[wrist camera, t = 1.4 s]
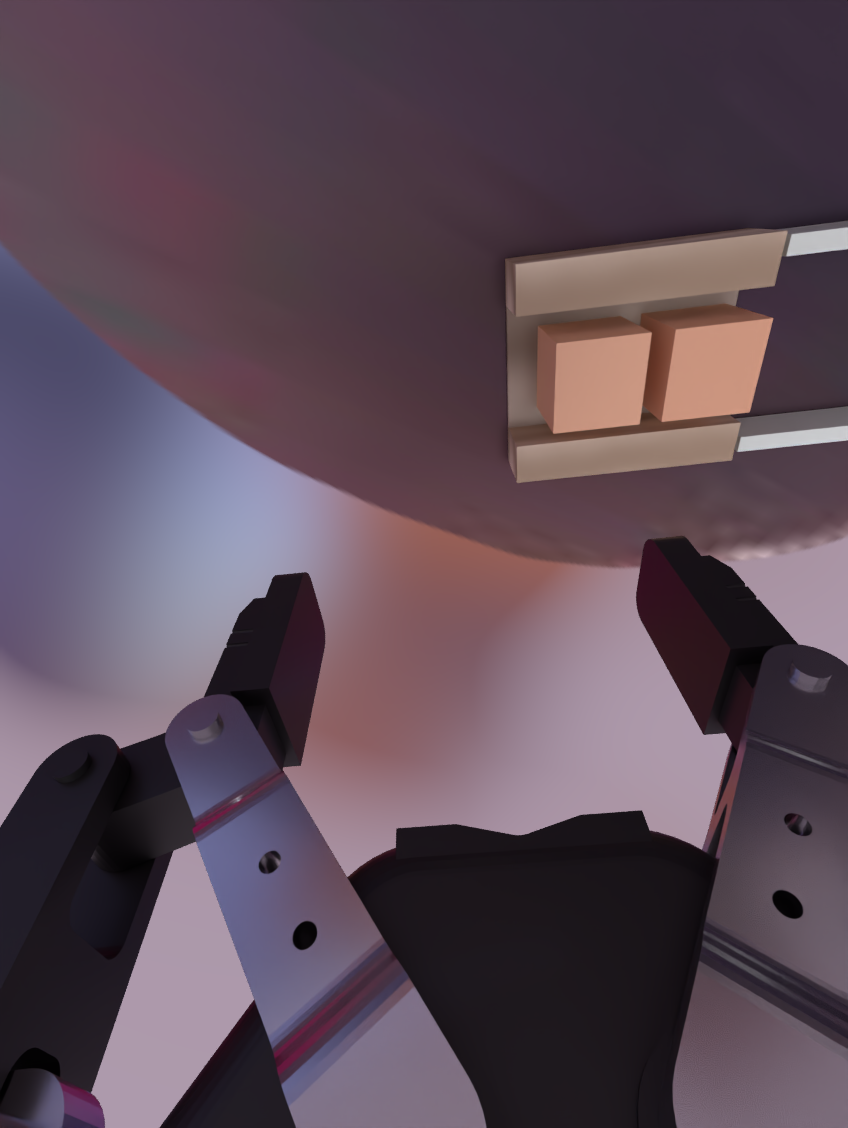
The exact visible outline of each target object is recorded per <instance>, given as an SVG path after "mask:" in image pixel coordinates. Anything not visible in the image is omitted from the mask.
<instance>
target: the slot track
mask: <svg viewBox="0 0 848 1128" xmlns="http://www.w3.org/2000/svg"><path fill="white" fill-rule="evenodd" d="M787 232H788V231H787V230H772V229H756V228H745V229H737V230H729V231H721V232H713V233H705V234H697V235H689V236H681V237H673V238H665V239H657V240H649V241H641V242H633V243H625V244H617V245H609V246H601V247H593V248H585V249H577V250H569V251H561V252H553V253H546V254H538V255H530V256H522V257H514V258H506V259H505V282H506V343H507V405H508V460H509V463H510V465H511V468H512V471H513V473H514V476H515V479H516V481H517V483H521V482H531V481H540V480H550V479H559V478H569V477H578V476H588V475H597V474H607V473H616V472H626V471H635V470H645V469H654V468H664V467H673V466H683V465H692V464H702V463H711V462H721V461H730V460H732V457H733V453H734V448H735V444H736V440H737V436H738V432H739V428H740V424H741V422H739V421H738V420H736V419H735V418H733V417H732V416H730V415H721V416H711V417H702V418H693V419H684V420H675V421H666V422H661V421H660V420H659V419H658V418H656V417H655V416H654V415H653V414H652V413H651V412H649V411H648V410H647V409H646V408H645V407H644V406H643V405H642V411H641V419H640V424H638V425H629V426H620V427H611V428H602V429H593V430H583V431H574V432H565V433H556V434H553V432H552V431H551V429H550V428H549V426H548V424H547V423H546V421H545V419H544V418H543V416H542V415H541V413H540V411H539V410H538V408H537V350H538V326H540V325H549V324H557V323H566V322H574V321H582V320H591V319H599V318H608V317H616V316H622V317H624V318H625V319H627V320H629V321H631V322H633V323H635V324H637V325H639V326H640V322H641V313H650V312H658V311H666V310H675V309H683V308H692V307H700V306H708V305H717V304H725V303H726V304H729V305H732V306H736V302H737V297H738V292H739V290H744V289H753V288H761V287H769V286H774V285H775V281H776V277H777V273H778V269H779V265H780V261H781V257H782V253H783V249H784V245H785V241H786V236H787Z"/></svg>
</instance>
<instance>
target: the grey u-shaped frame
mask: <svg viewBox="0 0 848 1128" xmlns="http://www.w3.org/2000/svg"><path fill="white" fill-rule="evenodd" d="M777 230H787V231H788V232H787V236H786V241H785V245H784V249H783V253H782V256H794V255H802V254H811V253H819V252H827V251H835V250H843V249H848V221H841V222H833V223H825V224H817V225H809V226H801V227H793V228H785V229H777ZM736 420H738V421H739V422H741V424H740V428H739V432H738V436H737V440H736V444H735V448H734V450H736V451H737V452H741V451H750V450H760V449H769V448H779V447H788V446H798V445H807V444H816V443H826V442H835V441H845V440H848V406H846V407H837V408H828V409H819V410H810V411H800V412H791V413H782V414H773V415H764V416H754V417H745V418H736Z"/></svg>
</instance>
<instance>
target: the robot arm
mask: <svg viewBox="0 0 848 1128" xmlns="http://www.w3.org/2000/svg"><path fill="white" fill-rule="evenodd" d="M636 603H637V609H638V613H639V616H640V619H641V621H642V623H643V625H644V626H645V628H646V630H647V632H648V634H649V636H650V637H651V639H652V641H653V643H654V645H655V647H656V648H657V650H658V652H659V654H660V656H661V657H662V659H663V661H664V663H665V665H666V667H667V669H668V670H669V672H670V674H671V676H672V678H673V680H674V681H675V683H676V685H677V687H678V689H679V691H680V692H681V694H682V696H683V698H684V700H685V702H686V703H687V705H688V707H689V709H690V711H691V712H692V714H693V716H694V718H695V720H696V722H697V723H698V725H699V727H700V729H701V731H702V733H703V734H704V735H706V734H719V733H726V734H727V736H728V737H729V739H730V741H731V743H732V744H731V746H730V749H729V752H728V756H727V759H726V763H725V767H724V771H723V775H722V779H721V783H720V787H719V791H718V794H717V798H716V802H715V806H714V810H713V813H712V818H711V821H710V825H709V829H708V832H707V835H706V839H705V842H704V845H703V848H702V850H701V849H699V848H697V847H695V846H693V845H691V844H690V843H687V842H685V841H682V840H680V839H677V838H675V837H672V836H669V835H665V834H662V833H659V832H654V831H649V828H648V825H647V823H646V820H645V817H644V815H643V812H642V811H628V812H615V813H602V814H587V815H579V816H576V817H574V818H571V819H568V820H565V821H563V822H560V823H557V824H554V825H551V826H548V827H545V828H543V829H540V830H537V831H534V832H531V833H529V834H525V835H511V834H505V833H500V832H494V831H489V830H484V829H479V828H473V827H468V826H462V825H457V824H452V825H439V826H425V827H412V828H398V829H397V830H396V831H397V832H396V848H394V849H391V850H389V851H386V852H384V853H382V854H381V855H378V856H376V857H374V858H372V859H371V860H369V861H368V862H366V863H365V864H363V865H362V866H360V867H359V868H358V869H357V870H356V871H354V872H353V873H352V874H351V875H350V876H348V877H347V876H346V875H345V873H344V871H343V870H342V868H341V866H340V865H339V863H338V861H337V860H336V858H335V856H334V855H333V853H332V851H331V849H330V848H329V846H328V845H327V843H326V841H325V839H324V838H323V836H322V834H321V833H320V831H319V829H318V828H317V826H316V824H315V823H314V821H313V819H312V817H311V816H310V814H309V812H308V811H307V809H306V807H305V806H304V804H303V803H302V801H301V799H300V797H299V796H298V794H297V792H296V791H295V789H294V787H293V786H292V784H291V782H290V780H289V779H288V777H287V776H286V774H285V773H284V771H283V767H289V766H301V762H302V757H303V752H304V747H305V742H306V737H307V732H308V727H309V722H310V718H311V712H312V707H313V703H314V697H315V693H316V688H317V683H318V678H319V673H320V668H321V663H322V658H323V653H324V648H325V628H324V623H323V619H322V615H321V612H320V609H319V605H318V602H317V599H316V595H315V591H314V588H313V584H312V581H311V578H310V576H309V574H308V573H306V572H305V573H294V574H284V575H275V576H274V577H273V579H272V582H271V585H270V587H269V590H268V592H267V595H266V597H265V598H256V599H253V601H252V602H251V603H250V604H249V605H248V606H247V607H246V608H245V609H244V610H243V611H242V612H241V613H240V614H239V616H238V618H237V621H236V623H235V625H234V628H233V630H232V632H233V633H232V634H231V635H230V637H229V639H228V642H227V648H225V649H224V651H223V653H222V656H221V658H220V660H219V663H218V665H217V667H216V670H215V672H214V674H213V677H212V679H211V682H210V684H209V686H208V689H207V691H206V693H205V696H204V698H201V699H199V700H196V701H195V702H193V703H191V704H189V705H188V706H186V707H185V708H184V709H182V710H181V711H180V712H179V713H178V714H177V715H176V716H175V717H174V718H173V720H172V721H171V723H170V724H169V726H168V728H167V731H166V733H163V734H161V735H158V736H156V737H153V738H150V739H147V740H144V741H141V742H138V743H135V744H133V745H130V746H127V747H124V748H121V749H120V748H119V747H118V745H117V744H116V743H115V741H114V740H113V739H112V738H111V737H109V736H106V735H100V734H97V735H88V736H84V737H81V738H79V739H76V740H73V741H71V742H69V743H67V744H66V745H64V746H62V747H61V748H59V749H58V750H56V751H55V752H54V753H52V754H51V755H50V756H49V757H48V758H47V759H46V760H45V761H44V762H43V763H42V764H41V765H40V766H39V768H38V769H37V770H36V772H35V773H34V775H33V776H32V778H31V779H30V781H29V783H28V784H27V786H26V787H25V789H24V791H23V792H22V794H21V795H20V797H19V799H18V800H17V802H16V803H15V805H14V807H13V808H12V810H11V811H10V813H9V814H8V816H7V817H6V819H5V821H4V822H3V824H2V825H1V827H0V1128H105V1119H104V1114H103V1109H102V1107H101V1105H100V1103H99V1101H98V1100H97V1099H96V1097H95V1096H94V1095H93V1094H91V1091H92V1088H93V1085H94V1082H95V1080H96V1077H97V1074H98V1071H99V1068H100V1065H101V1062H102V1059H103V1056H104V1053H105V1050H106V1047H107V1044H108V1041H109V1038H110V1035H111V1033H112V1030H113V1027H114V1023H115V1021H116V1018H117V1015H118V1012H119V1009H120V1006H121V1003H122V1000H123V997H124V994H125V991H126V989H127V986H128V983H129V979H130V977H131V974H132V971H133V968H134V965H135V962H136V959H137V956H138V953H139V950H140V947H141V944H142V941H143V939H144V936H145V933H146V930H147V927H148V924H149V921H150V918H151V915H152V912H153V909H154V906H155V903H156V900H157V897H158V895H159V892H160V888H161V886H162V883H163V880H164V877H165V874H166V871H167V868H168V865H169V862H170V859H171V856H172V853H173V850H176V849H178V848H181V847H183V846H186V845H188V844H191V843H193V842H196V843H197V846H198V848H199V851H200V854H201V857H202V859H203V862H204V865H205V867H206V870H207V873H208V876H209V878H210V881H211V884H212V886H213V889H214V892H215V894H216V897H217V900H218V902H219V905H220V908H221V911H222V913H223V916H224V919H225V921H226V924H227V927H228V930H229V932H230V935H231V937H232V940H233V943H234V946H235V949H236V951H237V954H238V957H239V959H240V962H241V965H242V967H243V970H244V973H245V976H246V978H247V981H248V983H249V986H250V989H251V992H252V995H253V997H254V1001H253V1002H252V1003H251V1004H250V1006H249V1007H248V1009H247V1010H246V1011H245V1013H244V1014H243V1015H242V1017H241V1018H240V1019H239V1021H238V1022H237V1024H236V1025H235V1026H234V1028H233V1029H232V1030H231V1032H230V1033H229V1034H228V1036H227V1037H226V1038H225V1040H224V1041H223V1042H222V1044H221V1045H220V1046H219V1048H218V1049H217V1051H216V1052H215V1053H214V1055H213V1056H212V1057H211V1059H210V1060H209V1061H208V1063H207V1064H206V1065H205V1067H204V1068H203V1070H202V1071H201V1072H200V1074H199V1075H198V1076H197V1078H196V1079H195V1080H194V1082H193V1083H192V1085H191V1086H190V1087H189V1089H188V1090H187V1091H186V1093H185V1094H184V1095H183V1097H182V1098H181V1099H180V1101H179V1102H178V1103H177V1105H176V1106H175V1108H174V1109H173V1110H172V1112H171V1113H170V1114H169V1116H168V1117H167V1118H166V1120H165V1121H164V1122H163V1124H162V1125H161V1127H160V1128H848V665H846V664H845V663H844V662H843V661H841V660H840V659H838V658H837V657H835V656H833V655H831V654H829V653H827V652H825V651H822V650H820V649H817V648H814V647H809V646H805V645H798V644H797V642H796V641H795V640H794V639H793V638H792V637H791V636H790V634H789V633H788V632H787V631H786V630H785V629H784V628H783V626H782V625H781V624H780V623H779V622H778V621H777V620H776V619H775V617H774V616H773V615H772V614H771V613H770V612H769V610H768V609H767V608H766V607H765V606H764V605H763V604H762V602H761V601H760V600H757V599H756V596H755V595H754V593H753V592H752V591H751V590H750V589H749V588H748V587H745V583H744V582H743V581H742V580H741V578H740V577H739V576H738V575H737V574H736V573H735V572H734V570H733V569H732V568H731V567H729V566H727V565H726V564H724V563H722V562H720V561H719V560H717V559H715V558H714V557H712V556H710V555H709V556H701V555H700V554H699V553H698V552H697V550H696V549H695V548H694V547H693V546H692V544H691V543H690V542H689V541H688V539H687V538H686V537H684V536H677V537H666V538H656V539H648V540H647V541H646V542H645V544H644V548H643V554H642V560H641V567H640V573H639V579H638V586H637V592H636Z"/></svg>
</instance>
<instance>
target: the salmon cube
mask: <svg viewBox="0 0 848 1128" xmlns="http://www.w3.org/2000/svg"><path fill="white" fill-rule="evenodd" d="M772 322H773V318H771V317H768V316H765V315H762V314H758V313H755V312H752V311H749V310H745V309H742V308H739V307H736V306H732V305H729V304H726V303H725V304H717V305H708V306H700V307H692V308H683V309H675V310H666V311H658V312H650V313H641V322H640V326H641V327H643V328H644V329H646V330H648V331H650V332H652V335H651V343H650V350H649V358H648V366H647V373H646V381H645V388H644V396H643V403H642V405H643V406H644V407H645V408H646V409H647V410H648V411H649V412H651V413H652V414H653V415H654V416H655V417H656V418H658V419H659V420H660V421H661V422H666V421H675V420H684V419H693V418H702V417H711V416H721V415H730V414H739V413H748V412H750V409H751V405H752V401H753V397H754V393H755V389H756V385H757V381H758V377H759V373H760V369H761V365H762V361H763V357H764V353H765V349H766V345H767V341H768V337H769V334H770V330H771V326H772Z"/></svg>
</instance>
